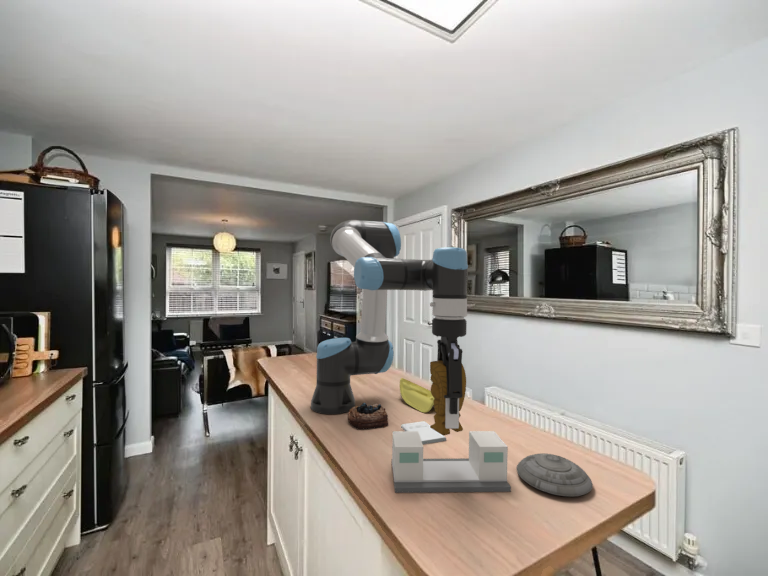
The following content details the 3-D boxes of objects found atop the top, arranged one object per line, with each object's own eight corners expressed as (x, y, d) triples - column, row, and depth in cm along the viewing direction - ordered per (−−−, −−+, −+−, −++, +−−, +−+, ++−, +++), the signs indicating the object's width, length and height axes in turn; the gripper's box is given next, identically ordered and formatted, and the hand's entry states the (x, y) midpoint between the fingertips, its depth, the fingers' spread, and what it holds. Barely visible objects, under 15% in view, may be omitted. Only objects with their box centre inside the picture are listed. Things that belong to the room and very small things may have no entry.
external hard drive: (419, 447, 93) (400, 429, 105) (446, 442, 96) (425, 425, 108) (419, 441, 93) (400, 423, 105) (446, 436, 96) (425, 420, 108)
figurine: (449, 421, 83) (451, 358, 82) (469, 432, 77) (471, 364, 77) (426, 427, 79) (427, 361, 79) (445, 439, 73) (446, 367, 73)
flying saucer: (502, 477, 78) (503, 453, 78) (537, 458, 87) (538, 436, 87) (572, 512, 66) (573, 484, 66) (604, 486, 76) (605, 460, 75)
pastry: (392, 427, 105) (392, 408, 105) (353, 432, 101) (353, 412, 101) (380, 414, 116) (380, 397, 116) (345, 418, 112) (345, 400, 112)
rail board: (391, 463, 84) (392, 427, 83) (490, 462, 84) (491, 427, 84) (395, 492, 72) (395, 451, 72) (510, 491, 72) (511, 451, 72)
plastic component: (452, 401, 123) (434, 393, 117) (444, 421, 121) (426, 414, 116) (415, 383, 139) (398, 376, 133) (408, 401, 137) (390, 394, 132)
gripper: (425, 313, 88) (424, 405, 88) (441, 322, 68) (440, 440, 68) (455, 314, 88) (453, 405, 88) (480, 322, 68) (478, 440, 68)
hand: (447, 420), depth 78 cm, fingers closed on figurine, 7 cm apart
